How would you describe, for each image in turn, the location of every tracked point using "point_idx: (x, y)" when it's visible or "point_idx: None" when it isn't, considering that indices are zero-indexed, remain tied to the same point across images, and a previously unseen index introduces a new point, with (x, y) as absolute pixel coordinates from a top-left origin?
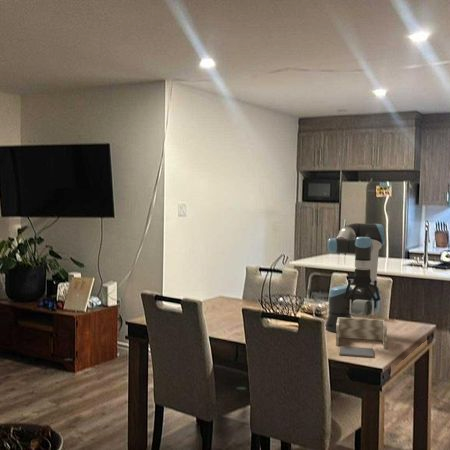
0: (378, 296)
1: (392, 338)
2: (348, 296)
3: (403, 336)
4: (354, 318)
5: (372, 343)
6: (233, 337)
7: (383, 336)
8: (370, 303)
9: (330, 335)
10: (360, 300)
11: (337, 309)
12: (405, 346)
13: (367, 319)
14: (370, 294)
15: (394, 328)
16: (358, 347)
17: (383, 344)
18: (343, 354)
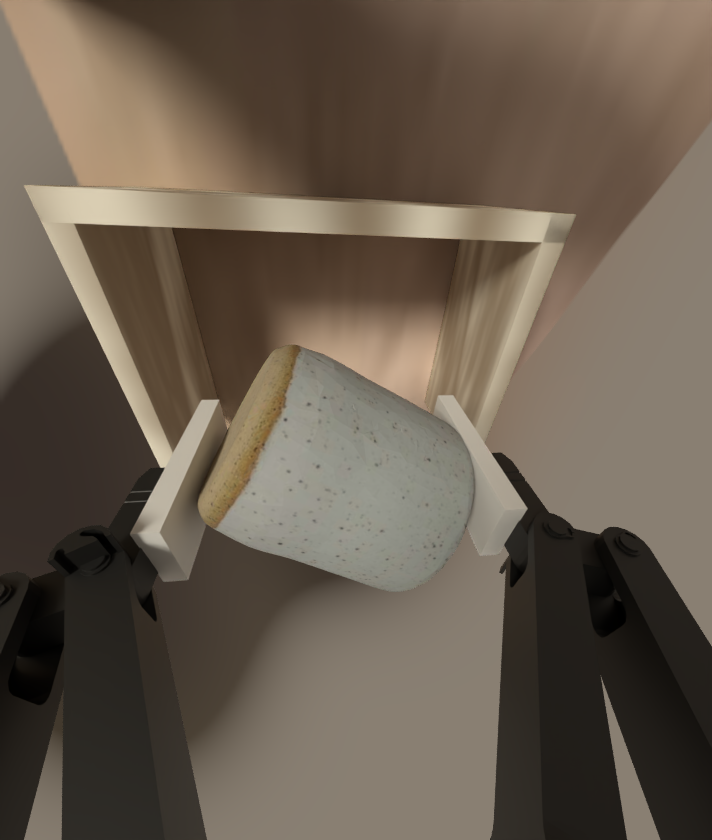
0: (607, 631)
1: (558, 132)
2: (77, 611)
3: (695, 3)
4: (250, 208)
5: (388, 320)
6: None
7: (450, 387)
8: (458, 488)
9: (70, 149)
10: (322, 564)
11: None
12: (543, 335)
13: (395, 228)
14: (501, 680)
15: None
16: None
17: (433, 389)
18: None
